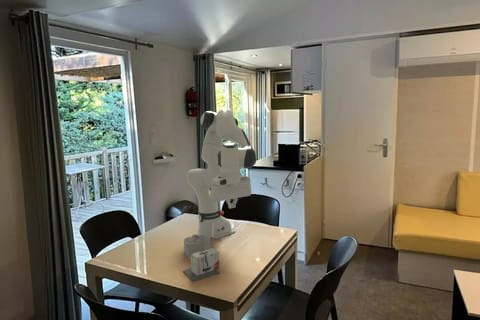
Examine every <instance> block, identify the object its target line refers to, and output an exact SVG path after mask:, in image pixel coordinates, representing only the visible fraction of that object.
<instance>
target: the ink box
mask: <svg viewBox="0 0 480 320" xmlns="http://www.w3.org/2000/svg"><path fill="white" fill-rule="evenodd" d="M190 262H191V263H190V266H191V267H190V268H192V272H193V273H194V274H195V275H197V276H198V275H201V274H204V273H207V272H210V271H213V270H216V269H217V270H219V269H220V251H219V250H218V249H216V248H214V247H213V248H212V247H211V248H210V249H208V250H205V251H201V252H198V253H194V254H191V258H190Z"/></svg>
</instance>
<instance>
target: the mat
mask: <svg viewBox="0 0 480 320" xmlns="http://www.w3.org/2000/svg"><path fill="white" fill-rule="evenodd" d="M182 272H183V274H185V275H186V276H187V277H188V278H189V279H190V280H191V281H192V282H196V281H200V280H203V279H207V278H210V277H213V276H215V275H219V274H221V272H220V271H219V269H216V270H213V271H210V272H207V273H204V274H201V275H198V276H197V275H195V274H194V273H193V272H192V268H191V267H190V268H188V269H183V270H182Z"/></svg>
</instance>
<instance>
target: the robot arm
mask: <svg viewBox="0 0 480 320" xmlns="http://www.w3.org/2000/svg"><path fill="white" fill-rule="evenodd" d="M200 126H201V128H202V129H205V130H206V133H205V136H204V139H203V143H202V148H201V154H200V157H201V159H202V161H204V163H206V164H207V168H192V169H190V170H188V172H187V174H186V179H185V180H186V182H187V184H188V185H189V186H190V187H191V188H192V189H193V191H194V192H195V195H196V197H197V201H198V213H197V216H198V217H197V218H198V229H197V233H196V234H197V235H198V236H200V235H204V236H206V237H209V238H210V239H213V240H215V239H221V238H222V237H225V236H229V235H231V234H234V233H236V229H235V228H234V227H233V226H231V225H232V224H231V222H230V221H229V219H227V218H226V217H224V216H223V215H224V213H225V212H224V211H223V210H220V209H219V206H218V203H219V202H221V201H225V202H226V204H227V206H228V209H233V208H236V204H237V202H238V200H239V198H243V197H250V196H251V195H252V185H251V178H250V177H249V176H247V175H246V176H245V175H244V176H241V169H252V168H253V167H254V166H255V165H256V163H257V155H256V154H257V153H256V151H255V150H254V148H253V147H252V145H251V143H250V140H249V138H248V135H247V134H246V132H245V131H244V129H243V128H241V127H239V121H238V119H237V118H236V117H235V116H234V114H233V112H232V111H231V110H229V109H227V108H223V109H220V110H219V111H217V112H214V111H211V110H208V111H207V110H206V111H204V112H202V115H201V117H200ZM223 140H224V141H227V142H225V143H223ZM239 145H240V147H239ZM231 201H232V203H231Z"/></svg>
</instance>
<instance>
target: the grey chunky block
mask: <svg viewBox="0 0 480 320" xmlns="http://www.w3.org/2000/svg"><path fill="white" fill-rule="evenodd" d="M183 246H184V247H183V248H184V255H185V256H186V258H188V259H191V254H194V253H198V252H201V251H205V250H208V249H211V238H209V237H206V236H204V235H200V236H198V235H197V233H196V234H193V235H191V236H188V237H186V238H184V240H183Z"/></svg>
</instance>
